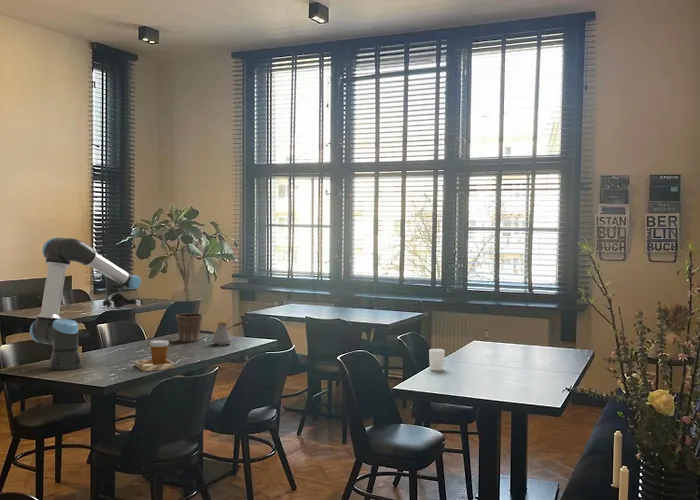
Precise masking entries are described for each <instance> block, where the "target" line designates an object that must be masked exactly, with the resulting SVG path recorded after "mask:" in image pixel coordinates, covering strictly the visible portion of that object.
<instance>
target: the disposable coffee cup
mask: <svg viewBox="0 0 700 500" xmlns="http://www.w3.org/2000/svg"><path fill="white" fill-rule="evenodd" d="M169 345H170V342H169V340H166V339H154V340H151V341H150V342H149V346H150V350H151V351H150V352H151V354H150V355H151V360H152V362H153V365H161V364H166V359H167V357H168V349H169Z"/></svg>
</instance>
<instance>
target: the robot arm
mask: <svg viewBox="0 0 700 500" xmlns="http://www.w3.org/2000/svg"><path fill="white" fill-rule="evenodd" d="M42 255H43V257H44V258H45V264H46V265H47V272H46V278H45V283H44V291H43V297H42V302H41V303H42V304H41V310H40V313H39V314H37V315H36V320H34V321H33V323H31V325H30V327H29V335H30V337H31V339H32V340H33V341H34V342H36V343H39V344H42V345H51V346H52V354H51V357H50V359H49V363H48V369H49V370H53V371H70V370H75V369H79V368H81V367H83V361H82V359H81V356H80V352H79V324H78V322H77V321H76V320H73V319H69V318H67V319H65V318H62V317H61V316H60V312H61V311H60V309H61V305H62V304H61V303H62V298H63V291H64V284H65V278H66V273H67V268H69V266H71V262H74V263H79V264H81V265H83V266H88V267H90V268H92V269H93V270H95V271H97V272H98V273H100V274H102V275H104V276H105V287H106V288H105V294H104V300H103V301H102V306H103V307H106V308H115V309H117V308H118V309H120V308H123V307H124V306H128V305H136V306H137V307H141V305H143V299H140V298H128V297H125V296H124V295H123V294H121V289H125V290H126V289H127V290H128V289H129V290H137V289H139V287H140V286H141V284H142V281H141V277H139V276H138V275H135V274H130V273H129V272H128V271H126V270H124V269H123V268H121V267H119V266H118V265H116V264H115V263H113V262H112V261H110V260H109V259H107V258H105V257H103V256H102V255H101V254H99V253H98V252H97V250H96V248H93V247H92V246H90V245H88V244H87V243H85V242H83V241H82V240H79V239H77V238H73V237H72V238H70V237H69V238H68V237H54V238H50V239H48V240H47V241H45V243H44V244H43V246H42Z"/></svg>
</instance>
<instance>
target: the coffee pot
mask: <svg viewBox="0 0 700 500" xmlns="http://www.w3.org/2000/svg"><path fill="white" fill-rule="evenodd" d="M244 323H245V324H248V321H247V320H244V321H241V322H237V323H235V324H233V325H231V326H228V325H229V324H228V322H216V325H217V328H216V331H215V332H214V336H213V338H212V343H213V344H215V345H216V344H217V345H216V346H226V345H225V344H228V345H230V344H231V342H232V340H233V339H232V337H231V334H230V332H229V329H232V328H234V327H237V326H240V325H242V324H244Z"/></svg>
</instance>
